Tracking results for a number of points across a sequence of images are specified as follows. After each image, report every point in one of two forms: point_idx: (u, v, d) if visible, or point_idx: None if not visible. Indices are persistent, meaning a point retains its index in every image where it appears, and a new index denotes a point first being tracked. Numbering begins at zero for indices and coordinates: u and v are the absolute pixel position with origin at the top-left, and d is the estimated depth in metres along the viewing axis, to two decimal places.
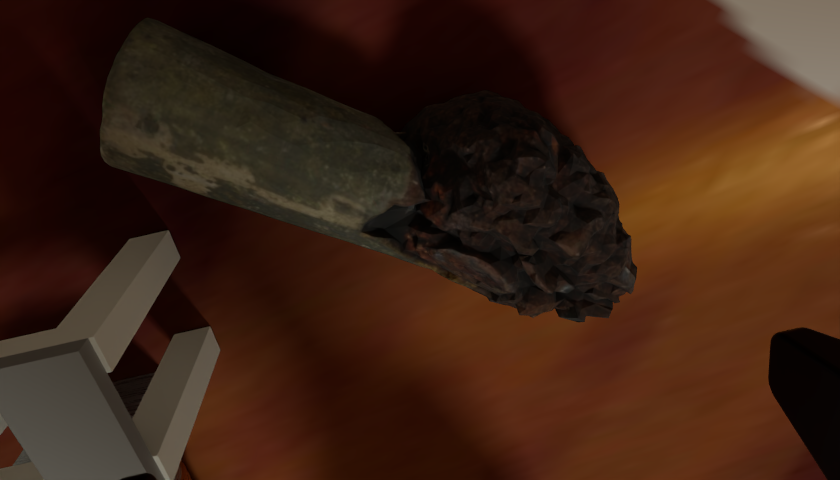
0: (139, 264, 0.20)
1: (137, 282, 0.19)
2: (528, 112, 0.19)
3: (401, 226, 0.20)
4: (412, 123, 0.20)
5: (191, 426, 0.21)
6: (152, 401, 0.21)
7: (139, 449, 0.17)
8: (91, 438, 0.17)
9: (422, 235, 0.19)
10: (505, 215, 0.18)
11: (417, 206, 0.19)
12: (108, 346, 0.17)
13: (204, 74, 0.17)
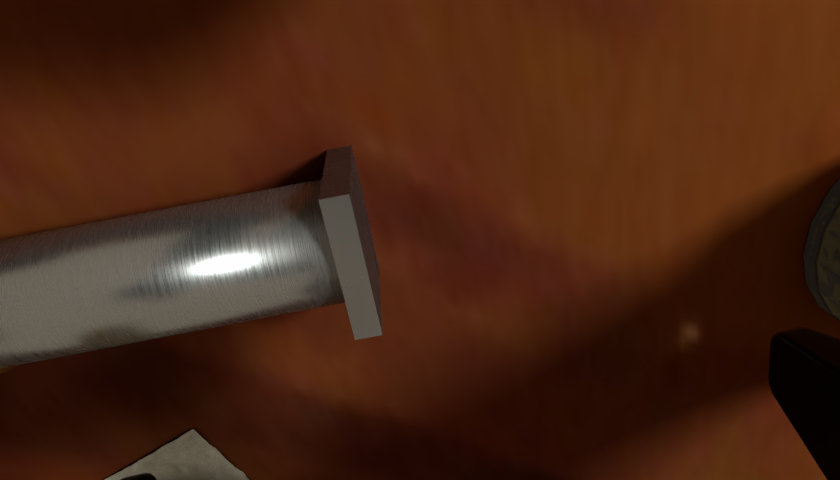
0: None
1: None
2: None
3: None
4: None
5: None
6: None
7: None
8: None
9: None
10: None
11: None
12: None
13: None
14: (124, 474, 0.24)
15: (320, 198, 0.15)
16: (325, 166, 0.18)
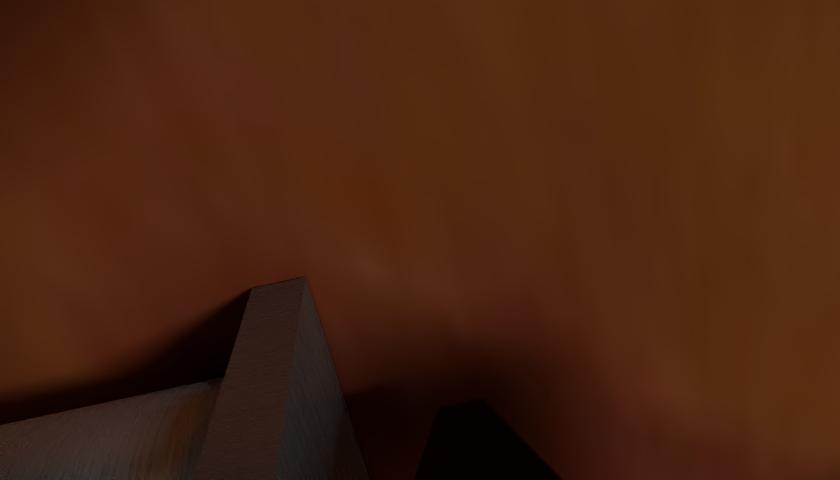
0: None
1: None
2: None
3: None
4: None
5: None
6: None
7: None
8: None
9: None
10: None
11: None
12: None
13: None
14: None
15: None
16: (232, 360, 0.07)
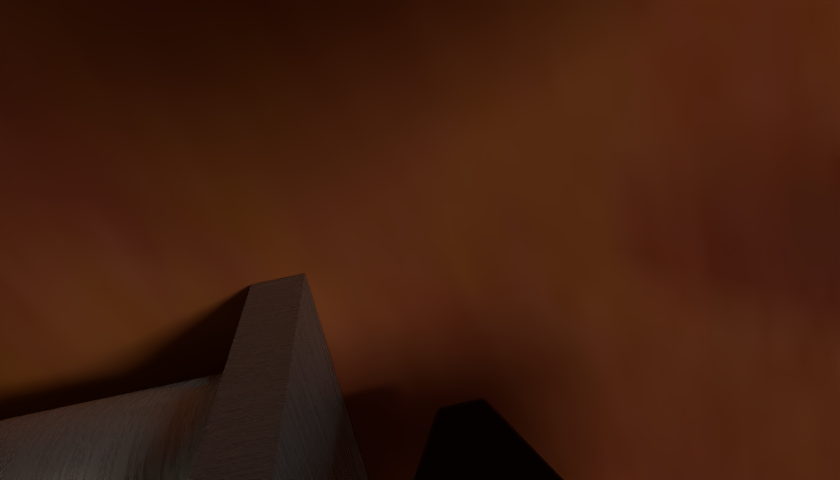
0: None
1: None
2: None
3: None
4: None
5: None
6: None
7: None
8: None
9: None
10: None
11: None
12: None
13: None
14: None
15: None
16: (231, 356, 0.07)
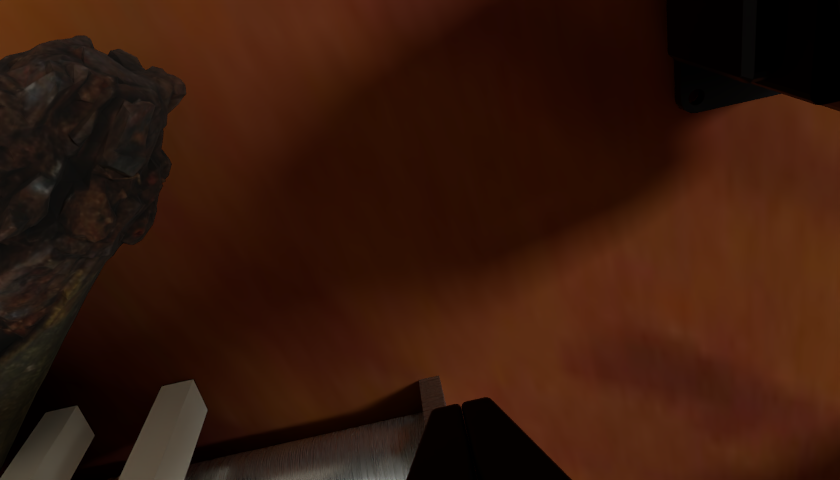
0: (8, 473, 0.20)
1: None
2: None
3: None
4: None
5: (152, 476, 0.18)
6: None
7: None
8: None
9: None
10: None
11: None
12: None
13: None
14: None
15: None
16: (424, 410, 0.22)
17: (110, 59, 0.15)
